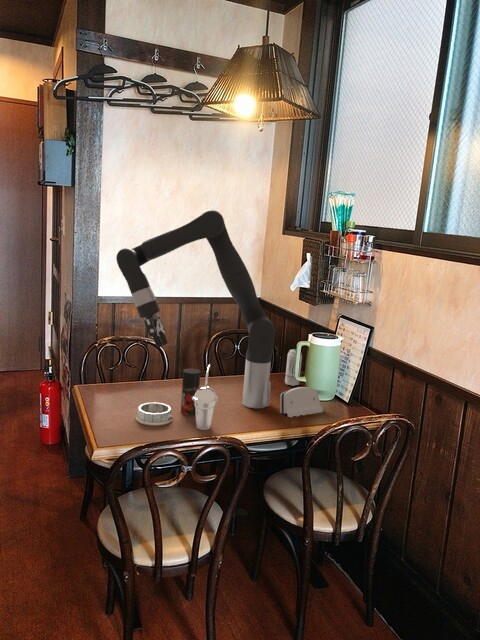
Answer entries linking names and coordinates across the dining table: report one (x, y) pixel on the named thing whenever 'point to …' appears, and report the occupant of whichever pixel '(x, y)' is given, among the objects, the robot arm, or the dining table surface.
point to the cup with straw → (204, 404)
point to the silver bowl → (154, 414)
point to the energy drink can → (292, 368)
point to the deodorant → (189, 390)
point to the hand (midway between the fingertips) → (162, 345)
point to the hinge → (300, 402)
